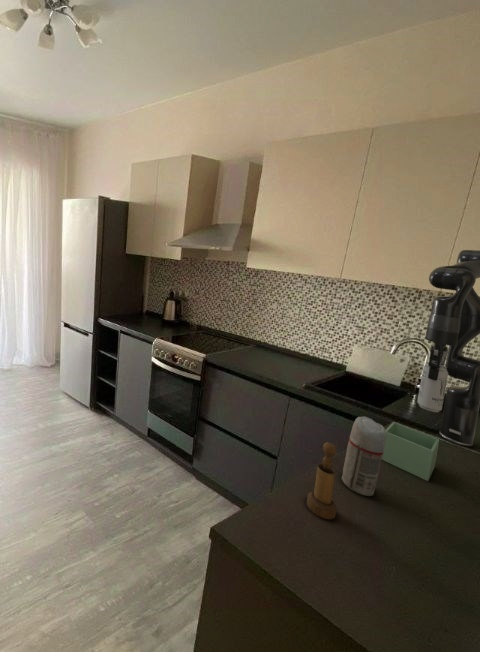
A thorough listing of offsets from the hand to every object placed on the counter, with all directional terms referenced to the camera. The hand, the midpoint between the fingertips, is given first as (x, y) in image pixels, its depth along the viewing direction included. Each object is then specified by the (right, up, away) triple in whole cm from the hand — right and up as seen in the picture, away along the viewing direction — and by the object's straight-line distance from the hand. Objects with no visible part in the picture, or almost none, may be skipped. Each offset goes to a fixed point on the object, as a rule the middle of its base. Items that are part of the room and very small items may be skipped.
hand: (434, 377), depth 110 cm
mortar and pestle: (-52, -27, -23) cm, 63 cm away
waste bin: (-8, -30, +2) cm, 30 cm away
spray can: (-35, -28, -13) cm, 46 cm away
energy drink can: (-1, -11, +1) cm, 11 cm away
